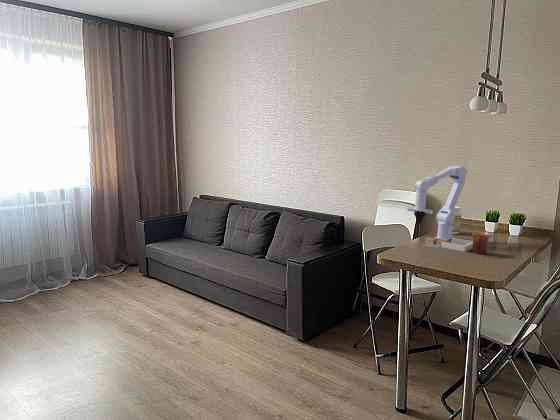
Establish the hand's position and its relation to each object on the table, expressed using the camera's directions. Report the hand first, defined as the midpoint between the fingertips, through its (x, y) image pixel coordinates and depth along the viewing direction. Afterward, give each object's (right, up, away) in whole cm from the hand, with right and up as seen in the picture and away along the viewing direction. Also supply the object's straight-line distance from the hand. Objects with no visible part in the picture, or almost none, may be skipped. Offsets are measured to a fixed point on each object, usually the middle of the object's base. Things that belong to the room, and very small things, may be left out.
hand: (418, 224), depth 250 cm
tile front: (+11, -11, -8) cm, 17 cm away
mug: (+22, -14, -27) cm, 38 cm away
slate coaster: (+3, -12, -12) cm, 17 cm away
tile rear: (+6, -11, -4) cm, 13 cm away
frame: (+17, -12, -14) cm, 25 cm away
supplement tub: (+28, -6, +26) cm, 39 cm away
